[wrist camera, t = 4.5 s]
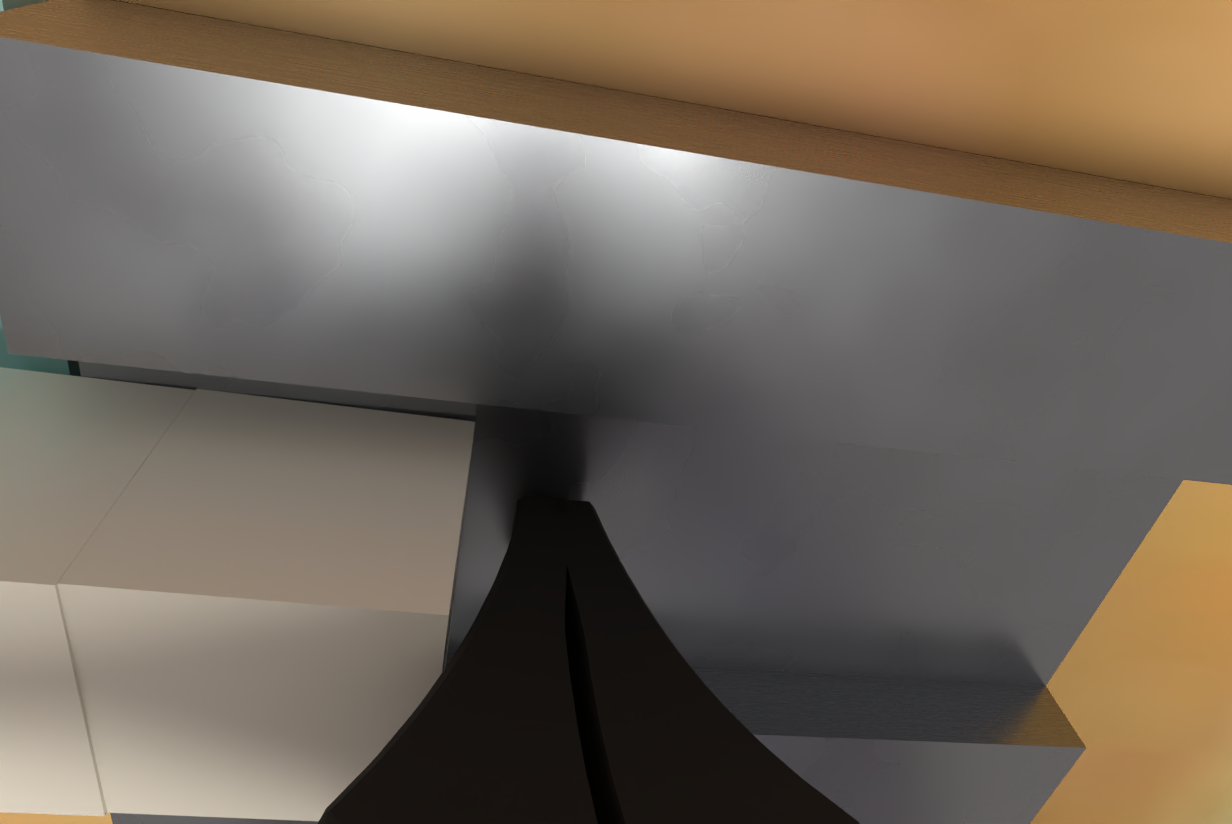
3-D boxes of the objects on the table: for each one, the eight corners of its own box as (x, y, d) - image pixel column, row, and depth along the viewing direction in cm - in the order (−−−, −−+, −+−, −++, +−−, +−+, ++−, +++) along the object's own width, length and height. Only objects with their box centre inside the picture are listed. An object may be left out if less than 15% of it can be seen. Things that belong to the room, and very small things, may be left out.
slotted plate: (948, 733, 21) (1008, 851, 18) (175, 701, 17) (116, 839, 15) (1268, 206, 14) (1438, 277, 11) (78, -6, 10) (-65, 26, 8)
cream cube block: (452, 610, 15) (423, 826, 11) (214, 590, 14) (106, 812, 11) (474, 421, 13) (448, 615, 9) (196, 388, 12) (56, 583, 8)
